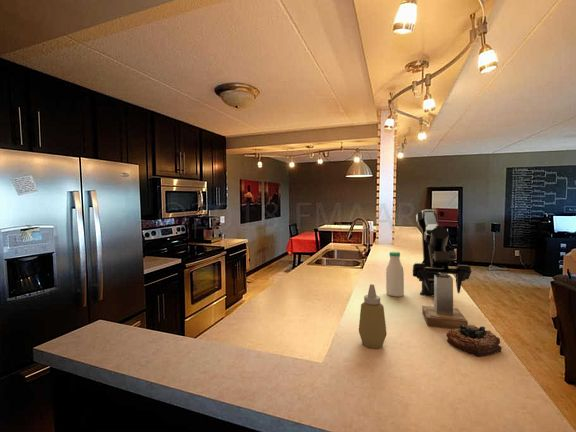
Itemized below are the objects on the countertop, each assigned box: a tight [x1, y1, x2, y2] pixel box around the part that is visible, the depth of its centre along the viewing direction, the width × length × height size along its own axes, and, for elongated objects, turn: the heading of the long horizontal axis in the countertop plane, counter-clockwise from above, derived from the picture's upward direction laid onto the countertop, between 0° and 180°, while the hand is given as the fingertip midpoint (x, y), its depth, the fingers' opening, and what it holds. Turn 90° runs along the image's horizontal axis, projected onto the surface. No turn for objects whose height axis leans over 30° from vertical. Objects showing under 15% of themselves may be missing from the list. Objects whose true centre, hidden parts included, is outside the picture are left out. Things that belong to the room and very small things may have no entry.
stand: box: [421, 305, 469, 330], centre depth 99 cm, size 12×12×3 cm
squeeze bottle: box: [358, 284, 387, 349], centre depth 83 cm, size 8×8×18 cm
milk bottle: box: [385, 251, 405, 298], centre depth 131 cm, size 8×8×20 cm
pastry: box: [446, 324, 503, 358], centre depth 81 cm, size 11×12×6 cm
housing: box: [433, 272, 454, 316], centre depth 99 cm, size 5×5×14 cm
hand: (444, 291), depth 98 cm, fingers open, 9 cm apart
